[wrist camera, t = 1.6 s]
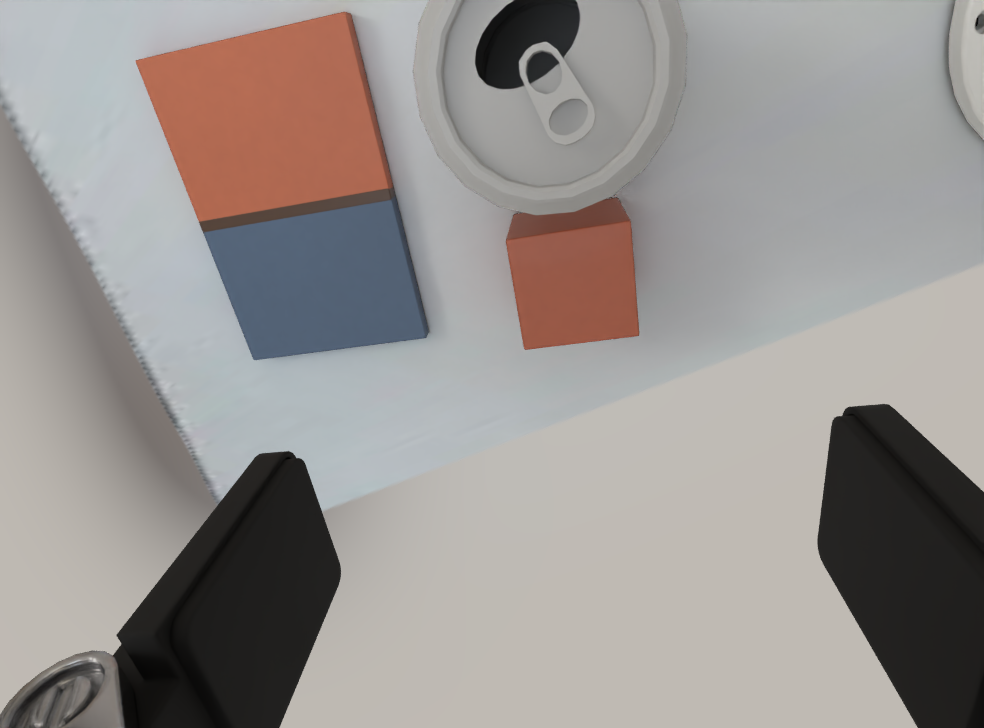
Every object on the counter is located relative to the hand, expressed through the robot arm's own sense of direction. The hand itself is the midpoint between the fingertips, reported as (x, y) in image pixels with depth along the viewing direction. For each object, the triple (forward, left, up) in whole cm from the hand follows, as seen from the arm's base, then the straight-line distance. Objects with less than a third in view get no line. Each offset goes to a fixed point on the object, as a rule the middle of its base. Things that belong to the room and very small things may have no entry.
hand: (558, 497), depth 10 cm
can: (-1, -7, -20) cm, 21 cm away
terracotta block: (-1, +1, -20) cm, 20 cm away
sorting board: (+12, -3, -20) cm, 23 cm away
